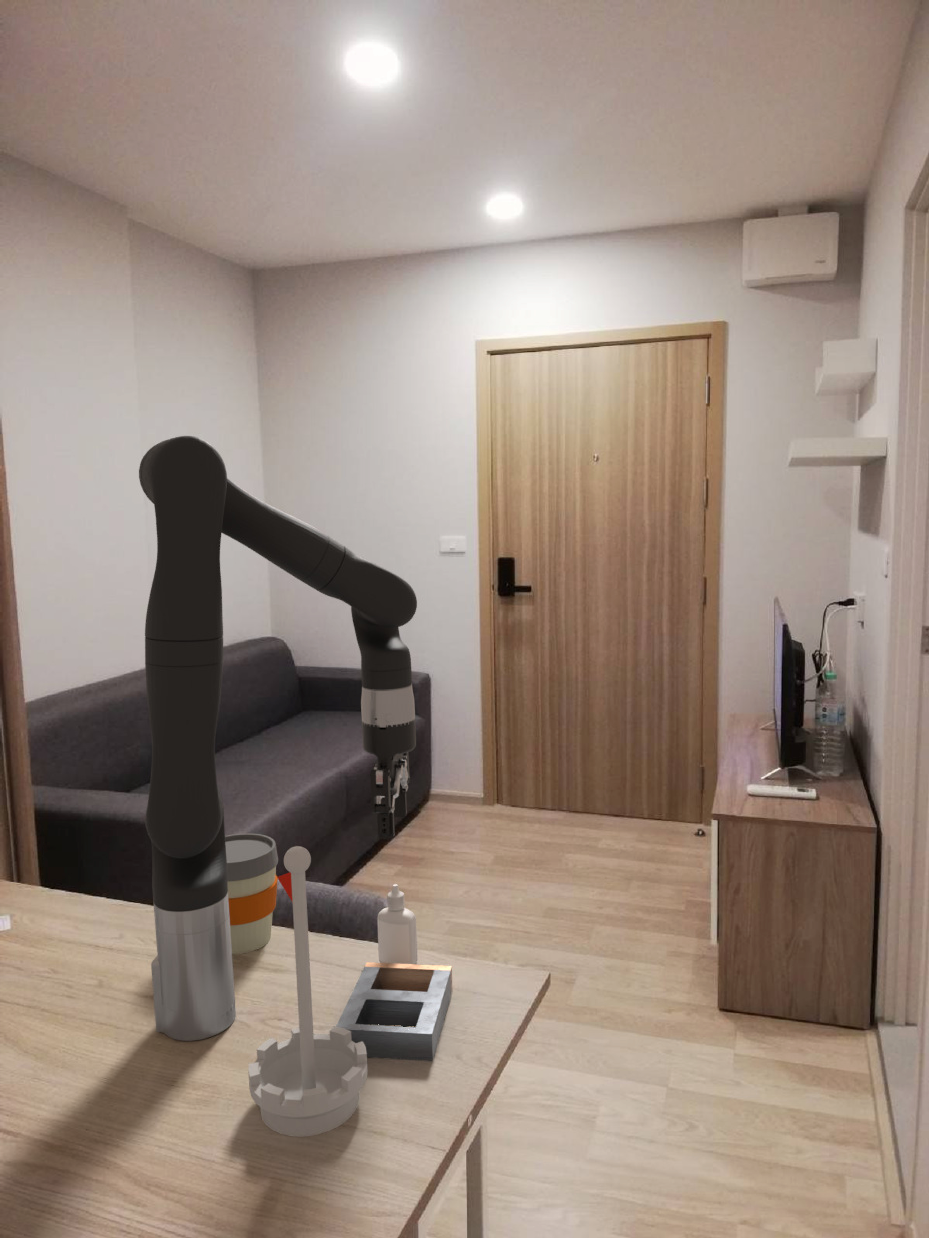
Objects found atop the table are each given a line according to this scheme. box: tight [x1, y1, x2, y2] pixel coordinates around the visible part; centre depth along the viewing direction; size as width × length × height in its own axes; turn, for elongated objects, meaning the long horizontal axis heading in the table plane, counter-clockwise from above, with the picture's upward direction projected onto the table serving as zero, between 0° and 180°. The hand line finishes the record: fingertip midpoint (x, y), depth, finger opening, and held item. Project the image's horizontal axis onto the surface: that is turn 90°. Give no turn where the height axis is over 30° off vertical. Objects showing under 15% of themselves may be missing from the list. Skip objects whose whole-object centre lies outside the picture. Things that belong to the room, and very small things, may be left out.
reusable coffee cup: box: [225, 833, 279, 955], centre depth 138 cm, size 13×13×15 cm
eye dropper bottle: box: [377, 883, 419, 964], centre depth 130 cm, size 4×6×12 cm
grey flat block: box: [335, 961, 454, 1062], centre depth 116 cm, size 12×16×4 cm
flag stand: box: [247, 845, 368, 1137], centre depth 99 cm, size 13×13×30 cm
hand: (393, 826), depth 128 cm, fingers open, 8 cm apart
